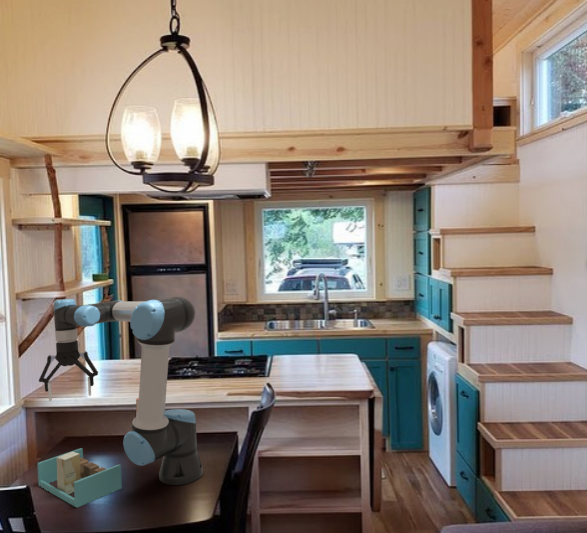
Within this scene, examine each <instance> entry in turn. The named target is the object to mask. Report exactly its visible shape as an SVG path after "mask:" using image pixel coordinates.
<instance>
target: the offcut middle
mask: <svg viewBox="0 0 587 533" xmlns="http://www.w3.org/2000/svg"><path fill="white" fill-rule="evenodd" d="M83 467H84V478H85V477H88V476H91V475H93V474H94V470H96V469H98V468H100V465H99V464H97V463H94V462H92V461H89V463H88V464H85V465H83Z"/></svg>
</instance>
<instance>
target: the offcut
mask: <svg viewBox="0 0 587 533" xmlns="http://www.w3.org/2000/svg"><path fill="white" fill-rule="evenodd" d="M88 463H90V461H89V460H87V459H86V458H84V457H83V458H80V476H81V478H82V479H83V478H84V467H83V465H85V464H88Z"/></svg>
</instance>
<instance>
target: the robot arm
mask: <svg viewBox="0 0 587 533" xmlns="http://www.w3.org/2000/svg"><path fill="white" fill-rule="evenodd" d="M52 311H53V321H54V322H53V323H54V334H55V335H54V336H55V341H56V343H55V351H56V352H55V353H56V355H51V354H49V355H48V356H47V358H46V359H47V360H46V363H45V366H44V368H43V370H42V372H41V374H40V376H39V378H38V382H39V383H44V391H45V393H46V392H47V394H48V401H49V402H50V401H52V399H53V395H52V394H53V392H52V391H53V390H52V381H50V380H51V379H52V378H53V376H54V375H55V374H56V372H57V371H58V370H59V369H60V367H61V366H62V367H68V366H69V367H71V366H74V365H75V366H77V367H78V368H79V369H80V370H81V371H82V372H83V373H84V374H86V376H87V388H88V389H87V390H88V396H89V397H91V396H92V387H93V386H94V384H95V383H94V377H95V376H98V375H99V371H98V370H97V368H96V366H95V365H94V363H93V362H92V360H91V359H90V357H89V353H88V351H86V350H85V351H84V352H79V341H78V327H84V328H87V327H93V326H95V325H98V324H103V323H109V322H110V323H111V322H129V323H130V325H129V326H130V329H131V330H132V334H133V335H134V337H135V338H137V343H138V344H139V345H140V346H141V352H140V353H141V355H140V356H141V358H140V372H139V374H140V375H139V388H138V389H139V390H138V398H139V402H138V416H137V415H136V417H133V419H132V423H131V430H130V431H128V432H127V433H126V434H125V435H124V437H123V442H122V445H123V449H124V452H125V454H126V456H127V458H128V459H129V460H130V461H131V462H132V463H133V464H135V465H136V466H141V467H142V466H145V465H149V464H151V463H153V462H155V461H157V460H159V459H161V458H162V460H161V465H160V469H159V472H158V475H159V476H158V477H159V481H160V482H161V483H162V484H165V485H169V486H170V485H171V486H179V485H180V486H181V485H185V484H190V483H193V482H195V481H197V480H199V479H201V478H202V476H203V474H204V472H203V471H204V470H203V469H204V467H203V464H202V461H201V459H200V456H199V453H198V448H197V447H198V446H197V444H198V442H197V440H198V439H197V421H196V414H195V412H194V411H192V410H191V409H190V410H189V409H184V408H183V409H182V408H177V409H175V408H174V409H167V410H166V399H167V384H168V373H169V372H168V371H169V370H168V369H169V357H170V356H169V355H170V347H171V346H172V345H174V343H175V342H176V341H175V337H176V333H179V332H183V331H185V330H187V329H188V328H189V327H190V326H191V325H193V323H194V321H195V318H196V309H195V306H194V304H193V303H192V301H190V300H189V299H187V298H185V297H183V296H173V297H167V298H159V299H150V300H147V301H145V300H144V301H143V300H142V301H126V300H125V301H124V300H112V301H111V300H110V301H104V302H96V303H89V304H79V305H78V304H77V303H76V300H75V299H72V298H63V299H57V300H55V301H54V302H53V310H52ZM80 357H81V358H82V359H84V361H85V362H86V363H87V365H88V367H89V368H90V370H91V371H90V370H89V368H87V367H86V366H85V365H84V364H83V363H82V362H81V361H80V360H79V359H80ZM54 360H56V361H57V362H58V363H56V366H54V368H53V369H52V370H51V372H50V373H49V374H48V376H46V374H47V372H48V370H49V367H50V366H51V364H52V363H53V362H54ZM45 376H46V377H45Z"/></svg>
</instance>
